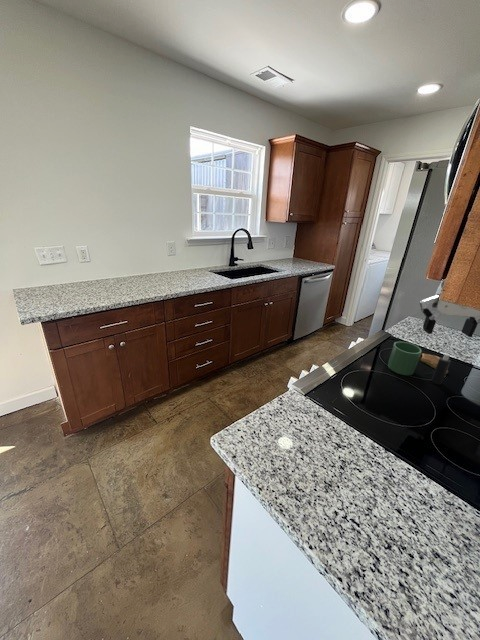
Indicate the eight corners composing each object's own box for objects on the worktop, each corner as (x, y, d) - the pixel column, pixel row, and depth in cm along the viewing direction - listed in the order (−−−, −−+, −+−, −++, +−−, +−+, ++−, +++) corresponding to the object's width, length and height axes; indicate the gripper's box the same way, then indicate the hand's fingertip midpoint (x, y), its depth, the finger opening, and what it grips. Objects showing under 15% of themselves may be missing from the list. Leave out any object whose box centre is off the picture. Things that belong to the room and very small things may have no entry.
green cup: (419, 372, 96) (427, 351, 92) (401, 377, 93) (409, 355, 89) (399, 360, 103) (405, 340, 99) (382, 364, 100) (388, 343, 97)
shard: (447, 375, 95) (449, 371, 94) (422, 369, 97) (424, 365, 97) (440, 360, 104) (442, 356, 103) (418, 356, 107) (419, 352, 106)
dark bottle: (443, 383, 90) (455, 356, 86) (437, 385, 89) (448, 357, 85) (435, 378, 93) (445, 351, 88) (429, 380, 92) (439, 352, 87)
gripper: (440, 271, 61) (418, 337, 68) (524, 275, 59) (492, 342, 66) (424, 264, 68) (405, 325, 75) (498, 267, 66) (472, 329, 73)
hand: (446, 333), depth 70 cm, fingers open, 9 cm apart
